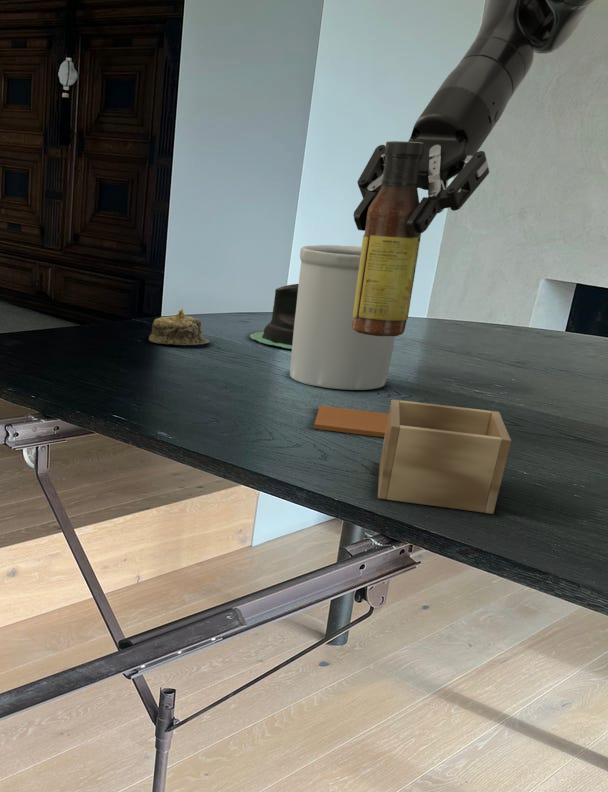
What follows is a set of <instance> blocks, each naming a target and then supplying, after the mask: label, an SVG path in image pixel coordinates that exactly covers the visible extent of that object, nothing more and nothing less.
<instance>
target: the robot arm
mask: <svg viewBox="0 0 608 792" xmlns="http://www.w3.org/2000/svg"><path fill="white" fill-rule="evenodd" d="M594 1H595V0H488V1H487V4H486V8H485V12H484V15H483V18H482V21H481V25H480V27H479V30H478V32H477V35H476V37H475V39H474V40H473V42H472V43H471V45H470V47H469V48H468V50H467V51H466V53H465V54H464V56H463V57H462V59H461V60H460V61H459V62H458V64H457V65H456V66H455V68H454V69H452V71H451V72H450V73H449V74H448V75H447V77H446V78H445V79H444V80H443V82H442V84H441V85H440V86H439V88H438V89H437V91H436V92H435V94H434V95H433V96H432V97H431V99H430V101H429V102H428V103H427V105H426V107H425V108H424V110H423V111H422V113H421V114H420V116H418V118H417V120H416V121H415V123H414V125H413V128H412V132H411V134H410V136H409V137H410V138H409V139H408V140H407V142H421V143H423V144H424V151H423V156H422V158H421V160H420V168H419V174H418V180H417V181H418V184H417V189H421V190H424V191H427V197H425V196H423V197H422V199H421V200H420V201H419V205H418V206H417V207H416V209H415V210H414V212H413V213H412V215H411V216H410V218H409V219H408V221H407V229H408V232H409V235H410V237H415V238H417V237H418V236H419V235H420V233H421V234H423V233H424V232H426V231H427V229H428V228H429V226H430V225H431V224H432V222H433V220H434V219H435V217H436V216H437V215H438V214H440V213H442V212H443V211H445V209H450V210H451V211H453V212H456V211H458V210H461V208H462V206H464V205H465V203H466V202H467V201H468V199H469V198H470V197H471V196H472V195H473V193H475V191H476V190H477V189H478V187H479V186H480V185H481V184H482V183H483V181H484V180H485V179H486V178H487V176H488V175H489V174H490V168H489V162H488V159H487V155H486V152H485V151H484V150H480V149H481V147H482V146H483V144H484V142H485V141H486V140H487V138H488V136H489V135H490V134H491V132H492V131H493V129H494V128H495V126H496V125H497V123H498V122H499V120H500V118H501V117H502V115H503V114H504V112H505V109H506V107H507V106H508V104H509V101H510V100H511V99H512V97H513V96H514V95H515V93H516V91H517V90H518V88H520V85H521V84H522V82H523V81H524V80H525V78H526V76H527V75H528V73H529V72H530V69H531V68H532V65H533V62H534V57H535V54H539V55H544V54H545V55H546V54H549V53H554V52H555V51H556V50H559V49H560V48H561V47H562V46H563V45H565V44H566V42H567V41H568V40H570V38H571V37H572V35H573V34H574V32H575V31H576V29H577V28H578V26H580V25H579V24H580V23H581V21H582V19H583V17H584V15H585V14H586V12H587V10H588V8H589V6H590V5H591V4H592V3H593V2H594ZM385 147H386V144H380V145H377V146H376V148H375V149H374V151H373V153H372V154H371V156H370V158H369V160H368V161H367V163H366V165H365V167H364V168H363V171H362V172H361V174H360V176H359V177H358V180H357V186H358V188H359V191H360V194H361V197H362V200H361V201H360V203H359V204H358V205H357V207H356V209H355V210H354V211H353V214H352V215H353V221H354V223H355V226H356V229H357V230H358V231H363V232H365V226H366V220H367V212H368V208H369V206H370V204H371V203H372V201H373V200H374V199H375V197H376V196H377V195H378V192H379V190H380V188H381V184H382V179H383V174H384V167H385V160H386V158H385V154H384V152H385ZM452 178H453V179H452ZM451 179H452V180H451ZM450 180H451V182H450V183H449V181H450ZM448 183H449V184H448Z"/></svg>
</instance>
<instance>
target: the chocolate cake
mask: <svg viewBox="0 0 608 792" xmlns="http://www.w3.org/2000/svg"><path fill="white" fill-rule="evenodd" d="M298 285H299V283H292V284H287V285H284V286H280V287H277V288H275V291H274V301H273V307H272V312H271V313H272V315H271V320H270V322H269V323H268V324H266V325H265V327H264V329H263V331H259V332H254V333H250V335H249V338H251V340H255V341H257V342H258V343H262V344H265V345H270V346H276V347H281V348H284V349H289V350H290V349H291V350H292V344H293V333H294V323H295V314H296V305H297V295H298Z"/></svg>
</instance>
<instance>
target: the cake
mask: <svg viewBox="0 0 608 792" xmlns="http://www.w3.org/2000/svg"><path fill="white" fill-rule="evenodd" d="M151 330H152V331H151V334H149V337H148V341H149V342H151V343H155V344H163V345H176V346H197V345H205V344H208V343H210V342H211V340H209V339H206V338H204V337H203V335H202V333H203V330H202V321H201V319H199V318H197V317H196V318H195V317H193V316H187V315H185V314H184V309H183V308H181V309H180V310H178V313H177V314H175V315H170V316H161V317H157V318H155V319H154V320H153V322H152V327H151Z"/></svg>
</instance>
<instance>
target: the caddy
mask: <svg viewBox="0 0 608 792" xmlns="http://www.w3.org/2000/svg"><path fill="white" fill-rule="evenodd" d="M388 414H389V415H388V421H387V426H386V431H385V437H383V443H382V447H381V454H380V460H379V464H378V485H377V487H378V488H377V499H379V500H386V501H387V500H388V501H392V502H393V501H394V502H400V503H401V502H402V503H409V504H416V505H424V506H430V507H438V508H444V509H445V508H446V509H454V510H459V511H461V510H462V511H468V512H474V513H483V514H490V515H493V514H494V513H495V509H496V506H497V501H498V497H499V492H500V488H501V485H502V481H503V476H504V473H505V468H506V464H507V459H508V456H509V453H510V447H511V444H512V439H511V436H510V434H509V432H508V430H507V427H506V424H505V423H504V421H503V418H502V415H501V412H500V411H495V410H486V409H479V408H478V409H477V408H469V407H460V406H452V405H446V404H445V405H443V404H435V403H427V402H420V401H419V402H418V401H409V400H402V399H400V400H399V399H393V398H392V399H391V400H390V405H389V411H388Z"/></svg>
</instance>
